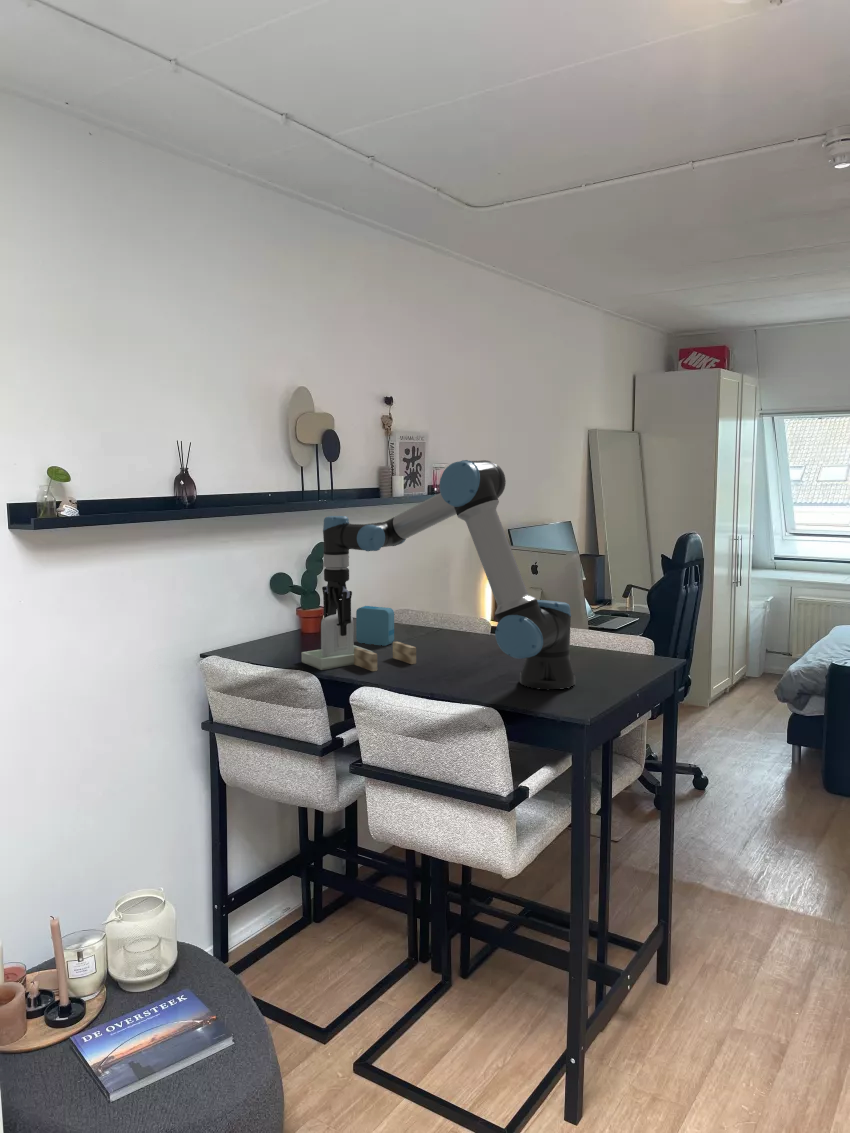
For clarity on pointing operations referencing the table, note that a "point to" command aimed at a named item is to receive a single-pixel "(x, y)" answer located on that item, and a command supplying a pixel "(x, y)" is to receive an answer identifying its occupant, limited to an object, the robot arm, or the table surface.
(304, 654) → the tray
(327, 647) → the grey rounded slab
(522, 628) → the robot arm
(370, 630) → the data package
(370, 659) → the pair of tan blocks
